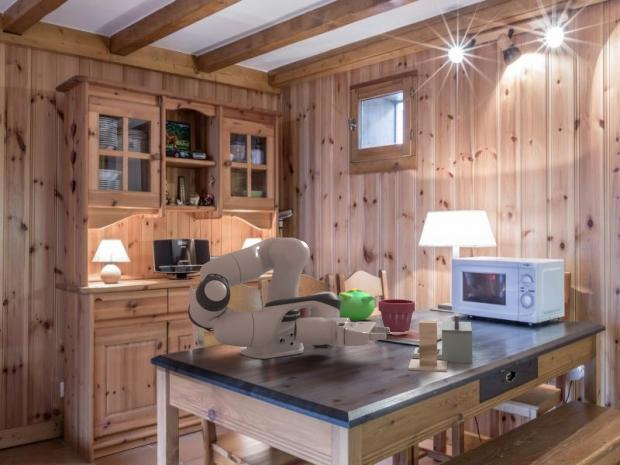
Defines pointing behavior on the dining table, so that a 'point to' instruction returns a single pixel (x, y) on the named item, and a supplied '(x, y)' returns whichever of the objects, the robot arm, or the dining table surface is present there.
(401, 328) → the plant pot
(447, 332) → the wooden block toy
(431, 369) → the pad
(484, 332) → the dining table surface
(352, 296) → the green rounded piece
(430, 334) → the wooden block
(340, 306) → the robot arm
